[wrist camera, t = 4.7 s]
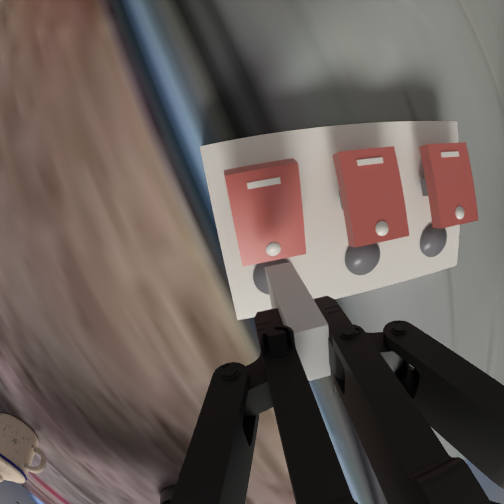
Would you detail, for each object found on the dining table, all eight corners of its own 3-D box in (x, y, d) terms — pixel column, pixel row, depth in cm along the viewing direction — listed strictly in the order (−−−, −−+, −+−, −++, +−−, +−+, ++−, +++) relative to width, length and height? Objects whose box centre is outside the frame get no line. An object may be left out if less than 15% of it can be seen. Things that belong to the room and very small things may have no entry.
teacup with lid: (8, 436, 34) (-12, 481, 24) (-10, 404, 31) (-37, 452, 21) (61, 455, 36) (45, 507, 25) (45, 426, 33) (23, 483, 22)
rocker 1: (239, 247, 23) (242, 267, 21) (222, 164, 20) (224, 175, 18) (296, 236, 23) (306, 254, 21) (287, 153, 20) (298, 163, 18)
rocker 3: (423, 226, 23) (441, 228, 20) (410, 149, 22) (427, 143, 19) (459, 219, 23) (478, 220, 20) (447, 147, 22) (466, 142, 19)
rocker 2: (342, 244, 22) (355, 247, 20) (326, 158, 22) (338, 151, 19) (392, 233, 23) (409, 235, 20) (378, 152, 22) (394, 146, 19)
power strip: (235, 302, 28) (237, 321, 25) (202, 145, 23) (199, 146, 20) (440, 254, 29) (457, 266, 26) (437, 120, 24) (458, 121, 21)
